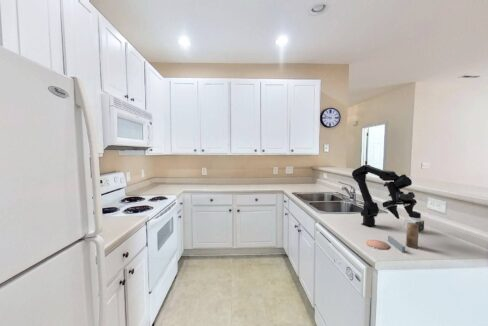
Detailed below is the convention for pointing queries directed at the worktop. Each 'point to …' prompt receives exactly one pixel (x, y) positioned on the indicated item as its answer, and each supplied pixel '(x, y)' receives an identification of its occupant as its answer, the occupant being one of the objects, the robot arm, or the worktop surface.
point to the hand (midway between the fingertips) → (405, 218)
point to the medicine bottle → (415, 221)
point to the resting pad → (377, 244)
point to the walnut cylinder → (412, 235)
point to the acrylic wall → (396, 244)
